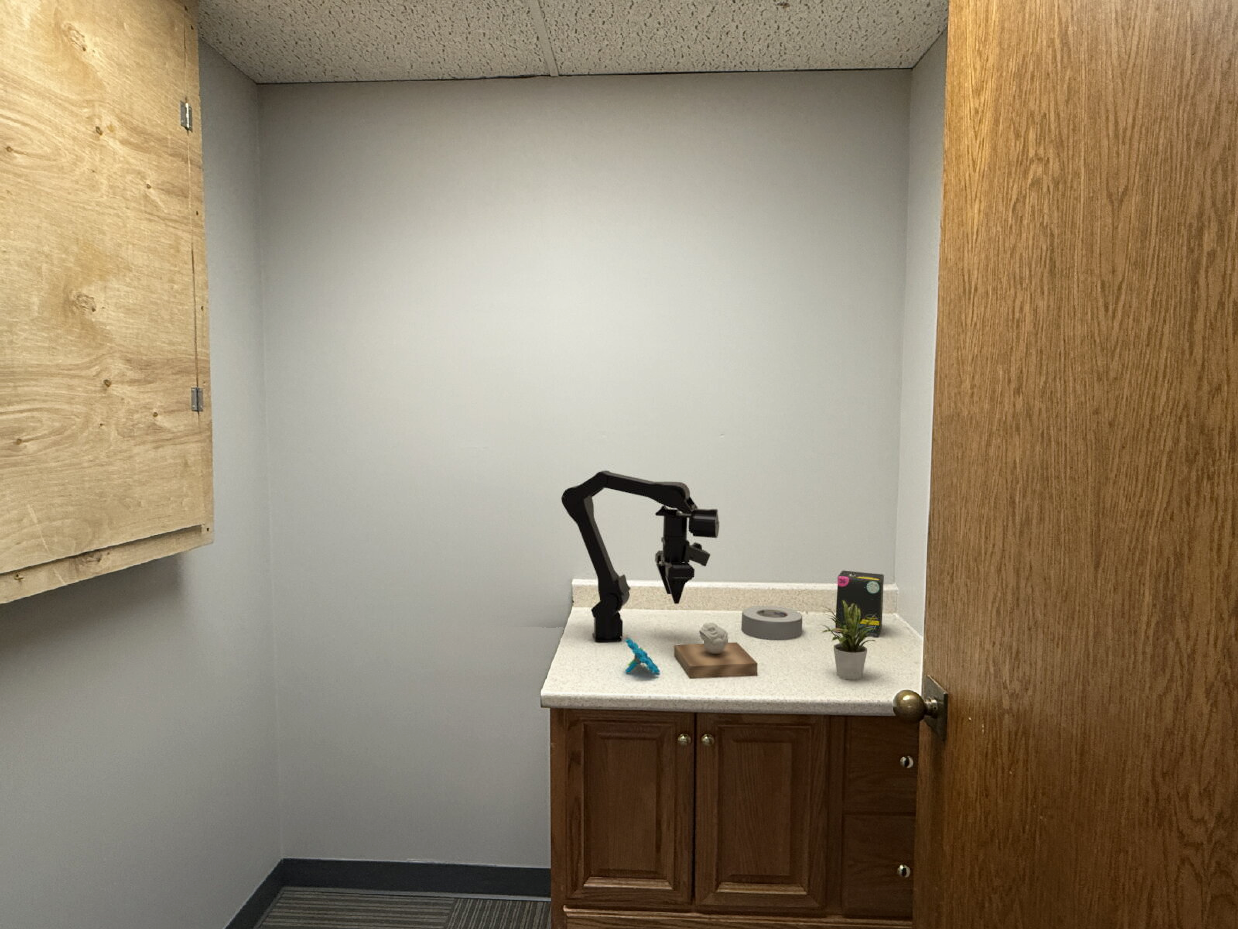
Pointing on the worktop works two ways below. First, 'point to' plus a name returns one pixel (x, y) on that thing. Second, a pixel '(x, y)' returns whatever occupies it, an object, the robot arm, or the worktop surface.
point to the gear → (640, 658)
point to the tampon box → (861, 599)
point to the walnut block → (715, 661)
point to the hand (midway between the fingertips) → (672, 598)
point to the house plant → (849, 644)
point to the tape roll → (771, 623)
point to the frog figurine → (714, 638)
